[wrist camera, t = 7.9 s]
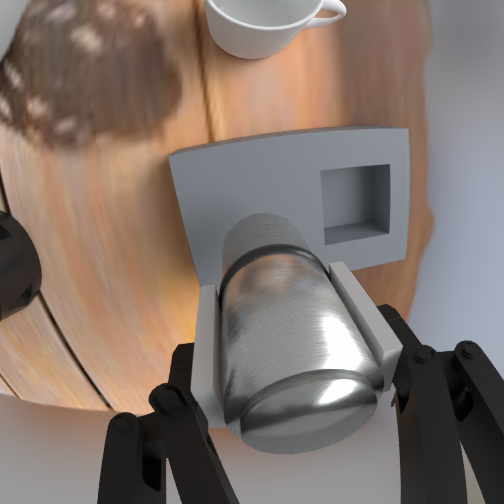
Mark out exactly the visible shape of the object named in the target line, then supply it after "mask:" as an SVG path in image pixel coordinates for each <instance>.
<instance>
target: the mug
mask: <svg viewBox="0 0 504 504" xmlns="http://www.w3.org/2000/svg"><path fill="white" fill-rule="evenodd" d="M204 4H205V10H206V16H207V22H208V27H209V31H210V34H211V36H212V38H213V40H214V41H215V43H216V44H217V45H218V46H219V47H220V48H221V49H223V50H224V51H226V52H227V53H229V54H231V55H234V56H236V57H240V58H245V59H260V58H265V57H269V56H272V55H274V54H276V53H278V52H279V51H281V50H282V49H284V48H285V47H286V46H287V45H288V44H289V43H290V42H291V41H292V39H293V38H294V37H295V36H296V35H297V34H298V33H299V32H300V31H301V30H302V29H310V28H316V27H321V26H325V25H328V24H331V23H333V22H335V21H337V20H339V19H341V18H342V17H344V16H345V14H346V8H345V6H344V5H343V4H342V2H340V1H339V0H204ZM320 9H325V10H332V11H336V12H338V13H339V14H338V15H337V16H336V17H332V18H315V17H314V16H315V15H316V14H317V13H318V11H319V10H320Z"/></svg>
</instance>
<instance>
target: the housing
mask: <svg viewBox="0 0 504 504" xmlns="http://www.w3.org/2000/svg"><path fill="white" fill-rule="evenodd" d="M168 159H169V164H170V168H171V173H172V177H173V182H174V186H175V191H176V195H177V199H178V204H179V208H180V212H181V216H182V220H183V224H184V228H185V232H186V236H187V240H188V244H189V248H190V251H191V255H192V259H193V263H194V266H195V270H196V274H197V277H198V281H199V284H200V287H201V286H205V285H211V284H215V285H216V289H217V293H218V296H219V289H220V284H221V281H222V247H223V242H224V239H225V237H226V235H227V233H228V232H229V230H230V229H231V228H232V227H233V226H234V225H235V224H236V223H237V222H239V221H240V220H241V219H243V218H245V217H247V216H250V215H253V214H257V213H272V214H277V215H280V216H282V217H284V218H286V219H288V220H289V221H290V222H292V223H293V224H294V225H295V226H296V227H297V229H298V230H299V232H300V234H301V235H302V237H303V238H304V240H305V241H306V243H307V245H308V246H309V248H310V249H311V251H312V253H313V254H314V255H315V256H316V257H318V259H319V260H320V261H321V262H322V263H323V265H324V267H325V268H326V270H327V271H328V273H329V263H333V262H339V261H343V262H344V264H345V265H346V266H347V268H348V269H349V270H350V271H352V270H357V269H361V268H366V267H371V266H375V265H380V264H384V263H388V262H393V261H397V260H402V259H405V257H406V246H407V235H408V220H409V197H410V155H409V133H408V128H400V127H392V126H383V125H361V126H340V127H325V128H313V129H302V130H292V131H283V132H275V133H268V134H260V135H253V136H247V137H240V138H234V139H229V140H223V141H217V142H212V143H207V144H202V145H197V146H192V147H187V148H183V149H179V150H177V151H175V152H174V153H172V154H171V155H169V156H168Z"/></svg>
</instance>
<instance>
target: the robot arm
mask: <svg viewBox="0 0 504 504" xmlns="http://www.w3.org/2000/svg"><path fill="white" fill-rule="evenodd" d="M329 276H330V278H331V282H332V285H333V287H334V289H335V290H336V292H337V294H338V295H339V297H340V299H341V300H342V302H343V304H344V306H345V307H346V309H347V311H348V312H349V314H350V316H351V318H352V319H353V321H354V323H355V325H356V326H357V328H358V330H359V332H360V333H361V335H362V337H363V339H364V341H365V342H366V344H367V346H368V348H369V350H370V351H371V353H372V355H373V357H374V359H375V361H376V362H377V364H378V366H379V368H380V370H381V372H382V374H383V377H384V389H383V392H386V391H389V390H390V388H391V384H392V382H393V384H394V386H395V388H396V391H395V394H394V397H393V399H392V402H391V407H392V406H394V403H395V406H396V415H397V424H398V436H399V449H400V450H399V451H400V471H401V472H400V473H401V504H468V503H467V489H466V479H465V471H464V464H463V456H462V450H461V444H462V446H463V448H464V450H465V453H466V455H467V457H468V459H469V462H470V464H471V467H472V469H473V471H474V474H475V477H476V479H477V482H478V484H479V487H480V489H481V492H482V495H483V498H484V500H485V503H486V504H504V380H503V379H502V377H501V376H500V374H499V373H498V371H497V370H496V368H495V367H494V366H493V364H492V363H491V361H490V360H489V359H488V357H487V356H486V354H485V353H484V352H483V350H482V349H481V348H480V347H479V346H478V345H477V344H476V343H474V342H472V341H467V340H466V341H461V342H459V343H458V344H457V345H456V347H455V350H454V351H445V352H436V350H434V349H433V348H432V347H430V346H427V345H422V344H421V343H420V341H419V340H418V339H417V337H416V336H415V334H414V333H413V332H412V330H411V329H410V328H409V326H408V325H407V324H406V323H405V321H404V320H403V318H401V316H400V314H399V313H398V312H397V310H396V309H395V308H393V307H391V306H390V305H388V304H384V305H380V306H377V307H376V306H375V305H374V303H373V302H372V300H371V299H370V298H369V296H368V295H367V293H366V292H365V291H364V289H363V288H362V286H361V285H360V284H359V282H358V281H357V280H356V278H355V277H354V276H353V274H352V273H351V272H350V270H349V269H348V268H347V266H346V265H345V264H344V262H343V261H339V262H333V263H329ZM41 279H42V275H41V266H40V261H39V258H38V255H37V252H36V249H35V247H34V245H33V243H32V241H31V239H30V237H29V236H28V234H27V232H26V231H25V230H24V228H23V227H22V226H21V225H20V224H19V223H18V221H17V220H15V219H14V218H13V217H12V216H10V215H9V214H7V213H5V212H3V211H0V322H1V321H2V320H3V319H5V318H7V317H9V316H11V315H13V314H15V313H17V312H19V311H20V310H22V309H24V308H26V307H27V306H28V305H29V304H30V303H31V302H32V301H33V299H34V298H35V297H36V296H37V294H38V292H39V290H40V287H41ZM171 363H172V364H171V367H170V374H169V380H168V383H163V384H161V385H159V386H157V387H156V388H155V389H153V390H152V392H151V393H150V395H149V403H150V405H151V406H152V408H153V409H154V410H155V412H153V413H150V414H147V415H144V416H140V417H136V416H135V415H134V414H132V413H128V412H123V413H119V414H117V415H116V416H114V417H113V418H112V419H111V420H110V422H109V425H108V429H107V435H106V440H105V446H104V453H103V459H102V467H101V474H100V482H99V491H98V502H97V504H166V458H168V459H169V463H170V467H171V470H172V473H173V477H174V480H175V483H176V487H177V490H178V493H179V496H180V499H181V502H182V504H240V503H239V501H238V499H237V497H236V495H235V493H234V491H233V488H232V486H231V484H230V482H229V480H228V477H227V475H226V473H225V470H224V468H223V466H222V464H221V461H220V459H219V456H218V454H217V451H216V449H215V447H214V444H213V442H212V439H211V437H210V435H209V433H208V424H209V425H210V427H211V428H221V427H227V426H226V424H225V421H224V401H223V362H222V313H221V310H220V306H219V297H218V293H217V289H216V285H215V284H211V285H205V286H201V287H200V296H199V305H198V314H197V323H196V333H195V343H187V344H178V346H177V347H176V349H175V350H174V352H173V355H172V361H171ZM383 392H382V393H383ZM460 441H461V444H460Z"/></svg>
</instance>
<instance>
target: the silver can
mask: <svg viewBox="0 0 504 504" xmlns="http://www.w3.org/2000/svg"><path fill="white" fill-rule="evenodd" d="M219 306H220V310H221V313H222V362H223V401H224V421H225V424H226V426H227V428H228V429H229V430H230V431H231V432H232V433H233V434H234V435H235V436H237V437H238V438H240V439H242V440H243V441H244V442H245V443H246V444H247V445H248V446H250V447H252V448H254V449H256V450H259V451H262V452H267V453H273V454H295V453H303V452H308V451H313V450H316V449H320V448H323V447H326V446H329V445H331V444H334V443H336V442H338V441H341V440H343V439H344V438H346V437H348V436H349V435H351V434H353V433H354V432H356V431H357V430H358V429H360V428H361V427H362V426H363V425H364V424H365V423H366V422H367V421H368V420H369V419H370V418H371V417H372V415H373V413H374V411H375V409H376V407H377V402H378V400H379V398H380V397H381V394H382V392H383V389H384V377H383V374H382V372H381V370H380V368H379V366H378V364H377V362H376V361H375V359H374V357H373V355H372V353H371V351H370V350H369V348H368V346H367V344H366V342H365V341H364V339H363V337H362V335H361V333H360V332H359V330H358V328H357V326H356V325H355V323H354V321H353V319H352V318H351V316H350V314H349V312H348V311H347V309H346V307H345V306H344V304H343V302H342V300H341V299H340V297H339V295H338V294H337V292H336V290H335V289H334V287H333V285H332V282H331V278H330V276H329V273H328V271H327V270H326V268H325V267H324V265H323V263H322V262H321V261H320V260H319V259H318V257H316V256H315V255H314V254H313V253H312V251H311V249H310V248H309V246H308V245H307V243H306V241H305V240H304V238H303V237H302V235H301V234H300V232H299V230H298V229H297V227H296V226H295V225H294V224H293V223H292V222H290V221H289V220H288V219H286V218H284V217H282V216H280V215H277V214H272V213H257V214H253V215H250V216H247V217H245V218H243V219H241V220H240V221H239V222H237V223H236V224H235V225H234V226H233V227H232V228H231V229H230V230H229V232H228V233H227V235H226V237H225V239H224V242H223V247H222V281H221V284H220V289H219Z"/></svg>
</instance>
